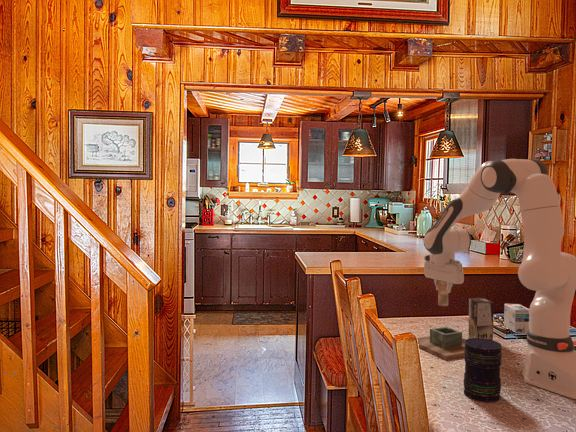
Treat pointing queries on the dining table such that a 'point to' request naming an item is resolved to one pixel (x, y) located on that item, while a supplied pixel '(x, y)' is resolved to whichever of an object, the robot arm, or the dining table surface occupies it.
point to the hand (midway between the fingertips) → (443, 291)
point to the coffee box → (481, 318)
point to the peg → (442, 293)
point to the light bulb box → (516, 318)
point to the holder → (443, 343)
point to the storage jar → (482, 369)
